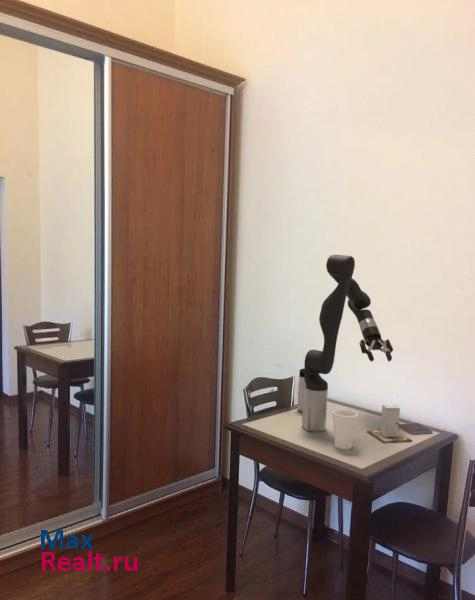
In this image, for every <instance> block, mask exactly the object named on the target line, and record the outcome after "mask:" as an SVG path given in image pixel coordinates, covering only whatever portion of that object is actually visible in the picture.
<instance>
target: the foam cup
mask: <svg viewBox="0 0 475 600" xmlns="http://www.w3.org/2000/svg"><path fill="white" fill-rule="evenodd" d="M331 416H332V417H331V418H332V423H333V438H334V446H335V447H336V448H338V449H341V450H350V449H352V447H353V443H354V438H355V437H354V436H355V434H356V433H355V432H356V427H357V423H358V420H359V419H358V417H359V414H358V413H357V412H356V411H354V410H350V409H334V410H332V415H331Z"/></svg>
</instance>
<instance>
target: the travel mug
mask: <svg viewBox="0 0 475 600" xmlns="http://www.w3.org/2000/svg"><path fill="white" fill-rule="evenodd" d="M305 391H306V383H305V368H301V369H299V376H298V392H297V394H298V396H297V412H298V413H302V414H303V405H304V404H305Z"/></svg>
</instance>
